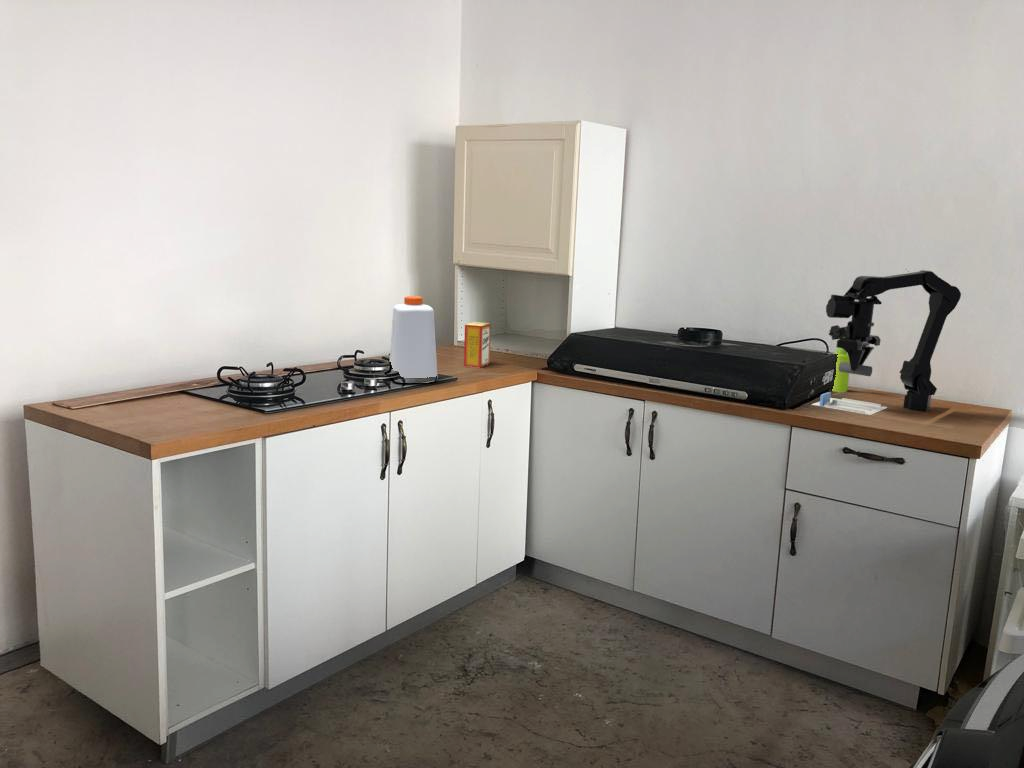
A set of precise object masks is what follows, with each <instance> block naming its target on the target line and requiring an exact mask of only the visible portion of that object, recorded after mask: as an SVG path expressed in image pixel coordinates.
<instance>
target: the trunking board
mask: <svg viewBox="0 0 1024 768" xmlns="http://www.w3.org/2000/svg"><path fill="white" fill-rule="evenodd" d="M831 395H832V391H827V392H825V393H822V394H820V397H819V399H820V400H819V401H818V402H815V403H814V402H813V403H812V404H811V406H817V407H823V408H827V409H835V410H840V411H845V412H852V413H858V414H863V415H869V416H871V415H874V414H876V413H878V412H881V411H883V410H885V409H888V407H887V406H883V405H882V404H881V403H875V402H870V401H863V400H858V399H857V400H855V399H851V398H846V397H843V398H836V397H835V398H834V397H832V396H831Z"/></svg>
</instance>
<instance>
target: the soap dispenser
mask: <svg viewBox="0 0 1024 768" xmlns="http://www.w3.org/2000/svg"><path fill="white" fill-rule="evenodd" d="M843 338H845V337H843ZM833 354H838V355H837V357H838V358H837V362H836V375H835V376H836V377H835V380H834V386H833V389H832V391H831V392H836V393H837V392H838V393H847V392H848V388H849V387H848V386H849V380H850V379H849V377H850V373H845V372H839V364H840V363H841V362H845V363H850V361H849V356H848V353H847V352H846V351H845V350H844V349H843V348H838V347H836V352H835V353H833Z"/></svg>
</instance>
